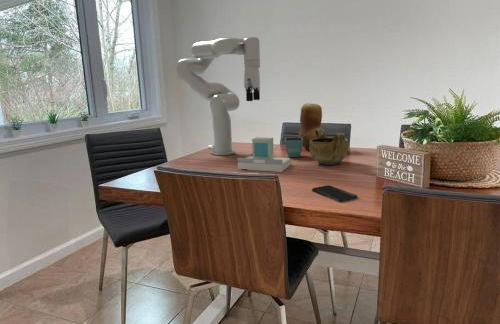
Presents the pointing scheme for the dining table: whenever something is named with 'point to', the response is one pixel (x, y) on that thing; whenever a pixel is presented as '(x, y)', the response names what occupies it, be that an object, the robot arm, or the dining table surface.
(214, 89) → the robot arm
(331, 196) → the phone
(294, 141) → the flower pot
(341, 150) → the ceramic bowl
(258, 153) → the carton
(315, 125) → the butternut squash
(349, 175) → the dining table surface
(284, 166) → the flat grey box
